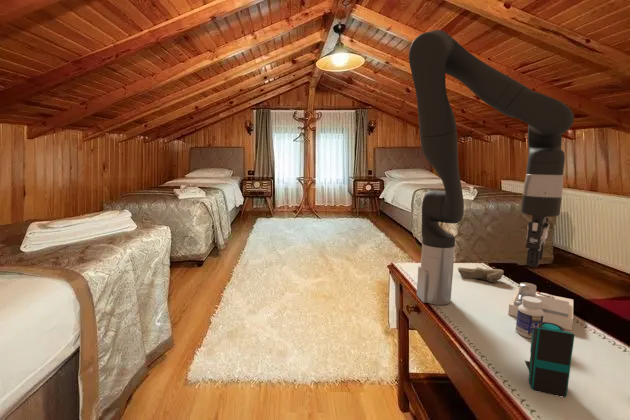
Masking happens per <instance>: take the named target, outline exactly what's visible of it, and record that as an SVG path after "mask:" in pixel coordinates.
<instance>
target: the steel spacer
mask: <svg viewBox="0 0 630 420" xmlns="http://www.w3.org/2000/svg"><path fill="white" fill-rule="evenodd" d="M518 288H519V296H518V298H520V299H522V297H524V296H530V297H535V296H536V292H537V285H536V284H534V283H531V282H530V283H529V282H520V283H519V287H518Z"/></svg>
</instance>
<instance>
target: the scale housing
mask: <svg viewBox="0 0 630 420" xmlns="http://www.w3.org/2000/svg"><path fill="white" fill-rule="evenodd" d="M518 292H519V287H517V288H516V289H515V291H514V294H513V296H512V297H511V300H510V302H509V303H508V304H509V305H508V313H507V314H508V315H509V316H512V317H516V318H517V312H518V307H519V306H518V305H514V301H515V298H516V296H517V294H518ZM536 295H538V296H543V297H548V298H553V299H558V300H562V301H567V302H569V315H568V317H565V316H560V315H556V314H552V313H548V312H543V313H544V314H543V322H549V323H553V324H557V325H559V326H561V327H563V328H564V330H567V331H573V325H574V324H573V322H574V299H572V298H567V297H562V296H557V295H553V294H549V293H546V292H540V291H536Z"/></svg>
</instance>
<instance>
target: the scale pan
mask: <svg viewBox="0 0 630 420" xmlns="http://www.w3.org/2000/svg"><path fill="white" fill-rule="evenodd" d="M518 296H519V292H518V294H517V296H516V298H515V301H514V305H518V306H520V305H522V299H520V298H518ZM535 298H538V299H540V300H541V301H542V305H541V308H540V309H542V311H543V312H548V313H552V314H556V315H560V316H565V317H568V315H569V302H567V301H562V300H558V299H553V298H548V297H543V296H538V295H536V296H535Z"/></svg>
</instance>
